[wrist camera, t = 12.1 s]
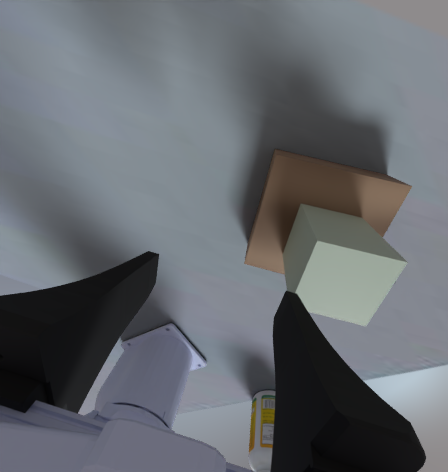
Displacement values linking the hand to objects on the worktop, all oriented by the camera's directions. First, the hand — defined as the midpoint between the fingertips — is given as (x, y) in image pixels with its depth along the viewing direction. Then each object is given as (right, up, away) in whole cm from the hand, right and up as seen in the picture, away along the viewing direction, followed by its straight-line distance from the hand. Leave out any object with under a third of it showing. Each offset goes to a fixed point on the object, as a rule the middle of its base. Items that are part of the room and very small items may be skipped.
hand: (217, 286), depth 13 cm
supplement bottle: (+7, -20, +20) cm, 30 cm away
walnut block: (+8, +5, +8) cm, 12 cm away
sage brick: (+8, +3, +5) cm, 9 cm away
